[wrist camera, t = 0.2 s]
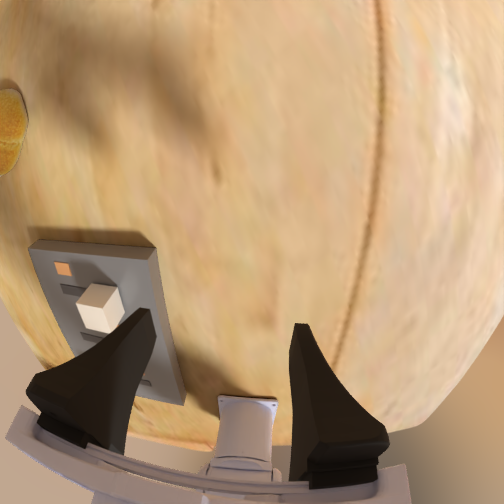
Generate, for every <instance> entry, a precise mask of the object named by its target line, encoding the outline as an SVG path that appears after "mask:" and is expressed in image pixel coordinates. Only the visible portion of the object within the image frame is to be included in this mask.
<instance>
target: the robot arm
mask: <svg viewBox="0 0 504 504" xmlns="http://www.w3.org/2000/svg"><path fill="white" fill-rule="evenodd" d="M156 338H157V335H156V331H155V327H154V323H153V319H152V315H151V311H150V309H147V308H141V307H139V308H138V309H137V310H136V311H135V312H133V313H132V314H131V315H130V316H129V317H128V318H127V319H126V320H125V321H123V322H122V323H121V324H120V325H119V326H118V327H117V328H115V329H114V330H113V331H112V332H111V333H110V334H108V335H107V336H106V337H105V338H103V339H102V340H101V341H100V342H98V343H97V344H96V345H94V346H93V347H91V348H90V349H88V350H87V351H85V352H84V353H82V354H80V355H79V356H77V357H75V358H73V359H71V360H70V361H68V362H66V363H63V364H61V365H59V366H57V367H54V368H52V369H49V370H46V371H43V372H40V373H37V374H35V376H34V377H33V379H32V381H31V382H30V384H29V386H28V387H27V389H26V394H27V396H28V398H29V399H30V400H31V401H32V402H33V404H34V405H35V406H36V407H37V408H38V409H39V410H40V411H41V414H40V416H39V415H38V414H36V413H35V412H33V411H31V410H30V409H28V408H26V407H24V406H21V407H20V409H19V411H18V413H17V415H16V416H15V419H14V421H13V422H12V425H11V426H10V428H9V431H8V433H7V435H6V437H5V438H6V439H7V440H8V441H9V442H10V443H12V444H13V445H14V446H16V447H17V448H18V449H19V450H21V451H22V452H23V453H25V454H26V455H27V456H29V457H30V458H32V459H33V460H35V461H36V462H38V463H40V464H41V465H43V466H45V467H46V468H48V469H50V470H51V471H53V472H55V473H57V474H58V475H60V476H62V477H64V478H66V479H67V480H70V481H71V482H73V483H75V484H77V485H79V486H81V487H83V488H86V489H87V490H90V491H92V492H94V496H93V499H92V503H91V504H412V503H411V496H410V489H409V482H408V476H407V470H406V465H405V464H401V465H396V466H392V467H387V468H383V469H380V470H377V467H376V465H378V463H379V462H378V456H380V455H381V454H382V453H383V452H384V451H386V449H387V448H388V447H389V445H390V443H389V437H388V434H387V431H386V428H385V426H384V425H383V424H382V423H380V422H379V421H378V420H376V419H375V418H374V417H373V416H371V415H370V414H369V413H368V412H367V411H366V410H365V409H364V408H363V407H362V406H361V405H360V404H359V403H358V402H357V401H356V400H355V399H354V398H353V397H352V396H351V395H350V394H349V392H348V391H347V390H346V389H345V387H344V386H343V385H342V384H341V382H340V381H339V380H338V378H337V377H336V375H335V374H334V372H333V371H332V369H331V368H330V366H329V365H328V363H327V361H326V360H325V358H324V356H323V354H322V352H321V350H320V349H319V347H318V345H317V342H316V340H315V338H314V336H313V334H312V331H311V329H310V326H309V325H308V324H301V323H295V326H294V331H293V335H292V340H291V345H290V350H289V375H290V386H291V396H292V408H293V424H292V447H291V462H290V474H289V482H281V472H280V471H279V470H278V469H277V468H273V469H272V462H271V446H272V426H273V422H274V419H275V415H276V411H277V406H278V400H275V399H258V398H244V397H234V396H224V395H219V396H218V405H219V413H220V425H219V431H218V437H217V443H216V450H215V456H214V458H211V461H210V463H205V464H204V465H203V466H202V467H201V468H200V470H199V472H198V474H194V473H189V472H184V471H179V470H174V469H170V468H165V467H161V466H157V465H153V464H149V463H146V462H143V461H139V460H136V459H132V458H129V457H126V456H124V449H125V442H126V434H127V429H128V423H129V418H130V414H131V409H132V405H133V402H134V398H135V394H136V391H137V389H138V386H139V383H140V381H141V379H142V376H143V374H144V372H145V369H146V367H147V365H148V362H149V360H150V358H151V355H152V352H153V349H154V346H155V342H156ZM123 470H124V471H123ZM125 471H127V472H130V473H133V474H137V475H140V476H143V477H147V478H150V479H154V480H158V481H162V482H166V483H170V484H174V485H179V486H184V487H188V488H194V489H196V491H192V490H189V489H184V488H180V487H176V486H170V485H167V484H163V483H159V482H155V481H151V480H148V479H144V478H141V477H138V476H134V475H131V474H128V473H127V472H125Z"/></svg>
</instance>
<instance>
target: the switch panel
mask: <svg viewBox="0 0 504 504" xmlns="http://www.w3.org/2000/svg"><path fill="white" fill-rule="evenodd" d="M28 251H29V254H30V257H31V260H32V263H33V265H34V268H35V271H36V274H37V276H38V279H39V282H40V284H41V287H42V289H43V292H44V294H45V296H46V299H47V301H48V303H49V306H50V308H51V310H52V312H53V314H54V317H55V319H56V321H57V323H58V325H59V327H60V329H61V331H62V333H63V335H64V337H65V339H66V341H67V343H68V344H69V346H70V348H71V350H72V352H73V354H74V355H75V357H77V356H79V355H80V354H82V353H84V352H85V351H87V350H88V349H90V348H91V347H93V346H94V345H96V344H97V343H98V342H100V341H101V340H102V339H103V338H105V337H106V336H107V335H108V334H109V333H104V332H100V331H96V330H92V329H88V328H86V327H85V324H84V322H83V320H82V317H81V315H80V313H79V310H78V308H77V305H76V302H77V301H78V300H79V298H80V297H81V296H82V294H83V293H84V292H85V291H86V289H87V288H88V287H89V286H90V284H91V283H93V284H99V285H106V286H113V287H118V291H119V294H120V298H121V301H122V305H123V308H124V311H125V313H124V315H123V317H122V318H121V320H120V322H119V323H118V325H117V327H118V326H119V325H120V324H121V323H122V322H123V321H125V320H126V319H127V318H128V317H129V316H130V315H131V314H132V313H133V312H135V311H136V310H137V309H138V308H139V307H141V308H147V309H150V311H151V315H152V319H153V323H154V327H155V331H156V335H157V338H156V342H155V346H154V349H153V352H152V355H151V358H150V360H149V362H148V365H147V367H146V369H145V372H144V374H143V376H142V379H141V381H140V383H139V386H138V389H137V391H136V394H135V396H139V397H143V398H148V399H152V400H157V401H161V402H166V403H171V404H176V405H182V406H184V403H185V399H186V395H187V394H186V390H185V386H184V383H183V379H182V375H181V371H180V367H179V363H178V359H177V355H176V351H175V347H174V342H173V338H172V333H171V329H170V324H169V319H168V314H167V309H166V304H165V299H164V294H163V288H162V282H161V276H160V270H159V264H158V257H157V250H156V248H150V247H136V246H122V245H108V244H94V243H81V242H67V241H53V240H40V239H39V240H37V241H36V242H35V243H34V244H32V245H31V246H30V247H29V248H28ZM117 327H116V328H117Z"/></svg>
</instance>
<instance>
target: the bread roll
mask: <svg viewBox="0 0 504 504" xmlns="http://www.w3.org/2000/svg"><path fill="white" fill-rule="evenodd" d="M27 126H28V116H27V112H26V109H25V106H24V103H23V100H22V97H21V94H20V93H19V92H18V91H16V90H14V89H2V90H0V176H3V175H4V174H6V173H8V172H9V171H10V170H11V169H12V168H13V167H14V166H15V164H16V163H17V161H18V159H19V155H20V153H21V148H22V142H23V139H24V137H25V135H26V131H27Z"/></svg>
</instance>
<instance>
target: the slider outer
mask: <svg viewBox="0 0 504 504" xmlns="http://www.w3.org/2000/svg"><path fill="white" fill-rule="evenodd" d="M76 305H77V308H78V310H79V313H80V315H81V317H82V320H83V322H84V324H85V327H86V328H88V329H92V330H96V331H100V332H104V333H109V334H110V333H111V332H112V331H113V330H114V329H115V328H116V327H117V325H118V323H119V322H120V320H121V318H122V317H123V315H124V313H125V311H124V308H123V305H122V301H121V298H120V294H119V291H118V287H113V286H106V285H99V284H93V283H91V284H90V286H89V287H88V288H87V289H86V291H85V292H84V293H83V294H82V296H81V297H80V298H79V300H78V301H77V302H76Z"/></svg>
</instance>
